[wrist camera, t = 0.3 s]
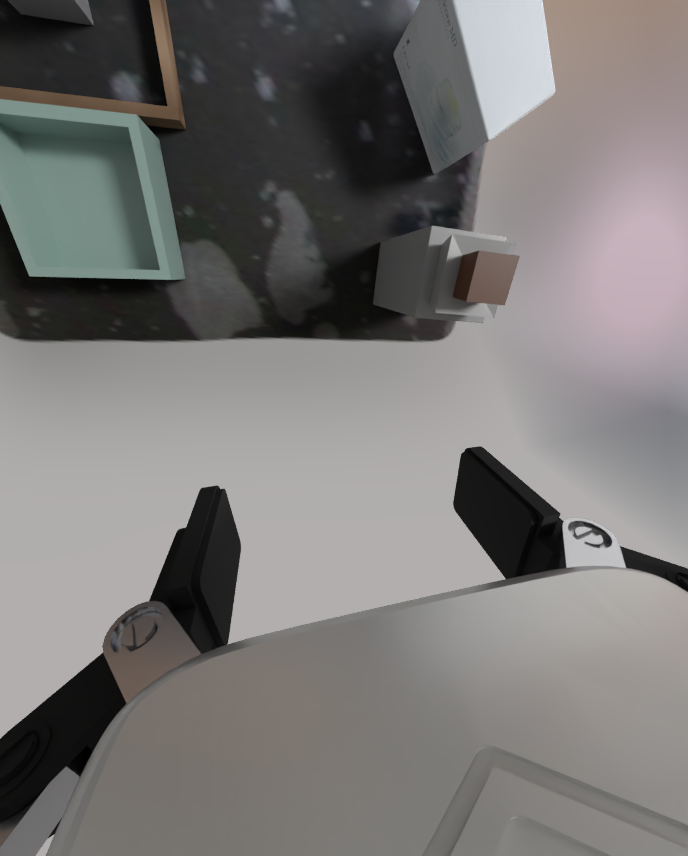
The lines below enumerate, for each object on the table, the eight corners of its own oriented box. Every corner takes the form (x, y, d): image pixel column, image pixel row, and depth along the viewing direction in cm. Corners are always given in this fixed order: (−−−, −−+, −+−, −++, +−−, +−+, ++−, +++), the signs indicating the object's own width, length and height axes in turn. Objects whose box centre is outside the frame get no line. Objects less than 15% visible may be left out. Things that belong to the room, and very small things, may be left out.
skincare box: (388, 56, 28) (441, -49, 19) (447, 9, 28) (531, -122, 18) (431, 178, 33) (489, 142, 24) (482, 141, 33) (561, 89, 23)
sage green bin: (11, 124, 26) (-44, 94, 21) (158, 139, 28) (136, 114, 23) (64, 276, 31) (29, 276, 27) (185, 279, 33) (171, 279, 29)
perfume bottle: (433, 249, 37) (550, 230, 21) (421, 308, 39) (516, 331, 24) (380, 242, 35) (463, 215, 19) (372, 304, 38) (438, 324, 22)
